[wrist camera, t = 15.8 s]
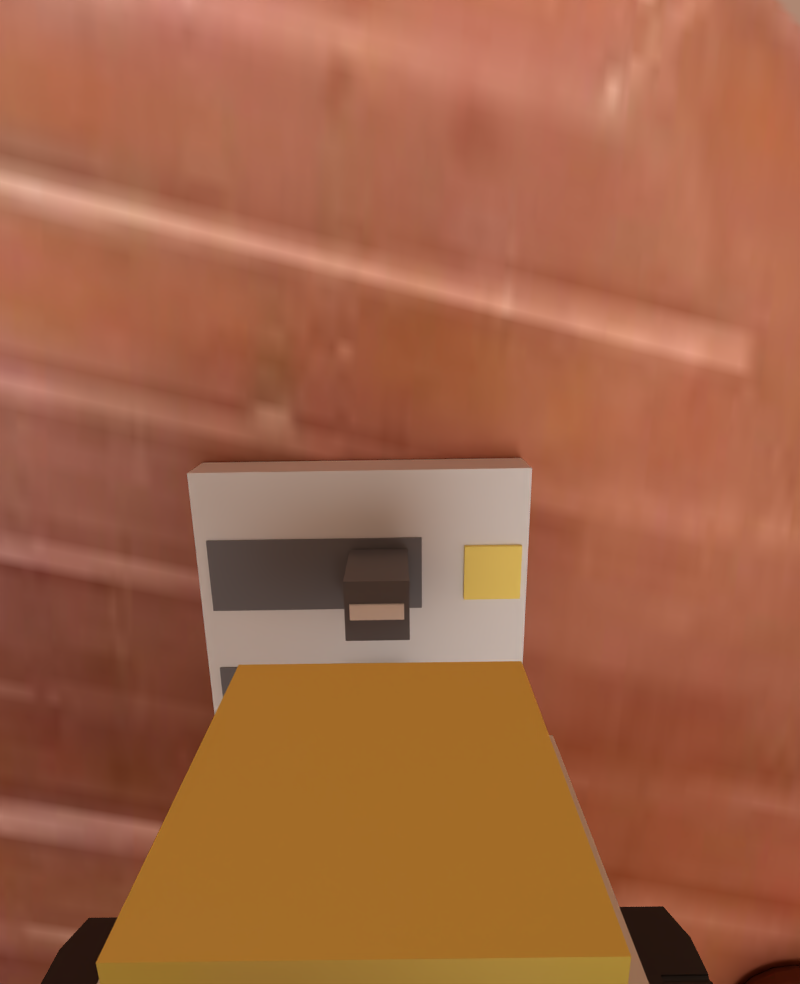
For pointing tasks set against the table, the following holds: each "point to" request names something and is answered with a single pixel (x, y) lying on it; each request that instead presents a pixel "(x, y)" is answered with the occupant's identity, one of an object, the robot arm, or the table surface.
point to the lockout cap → (371, 840)
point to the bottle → (777, 976)
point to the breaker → (377, 595)
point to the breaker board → (359, 526)
